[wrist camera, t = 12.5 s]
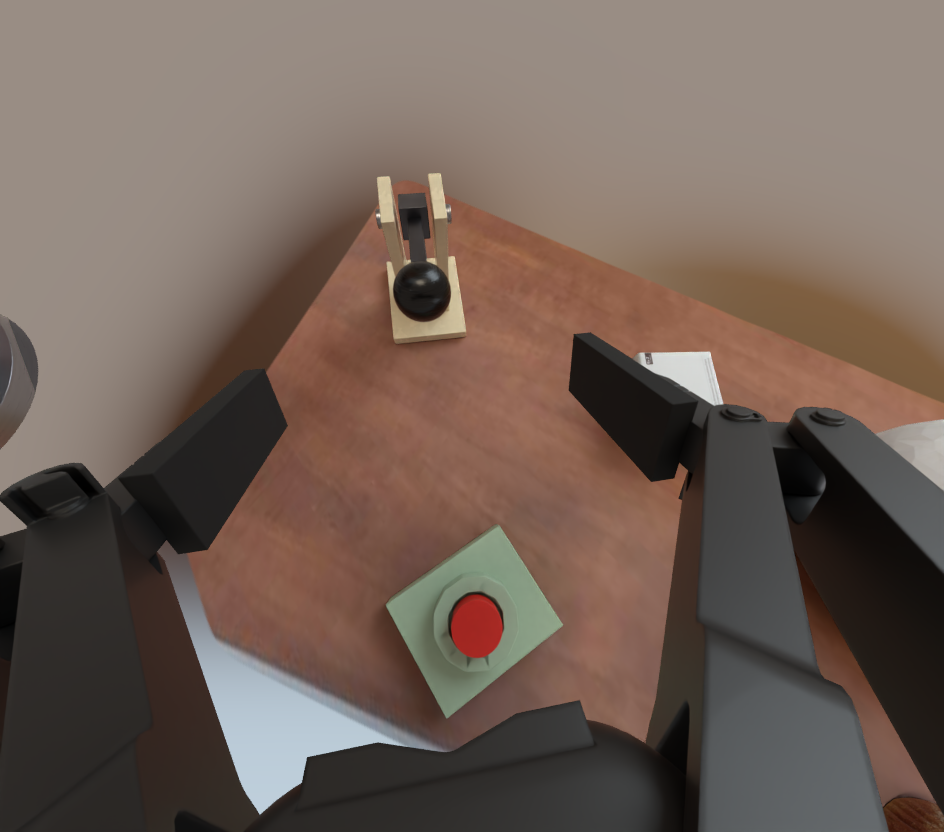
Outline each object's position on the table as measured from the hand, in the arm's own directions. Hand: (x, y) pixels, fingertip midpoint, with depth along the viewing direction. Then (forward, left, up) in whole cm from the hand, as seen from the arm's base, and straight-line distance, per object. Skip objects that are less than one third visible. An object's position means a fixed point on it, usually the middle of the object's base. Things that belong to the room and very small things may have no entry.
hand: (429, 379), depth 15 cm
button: (-5, -14, -17) cm, 23 cm away
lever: (+5, +11, -8) cm, 14 cm away
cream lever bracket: (+8, +16, -21) cm, 27 cm away
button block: (-5, -14, -21) cm, 26 cm away
